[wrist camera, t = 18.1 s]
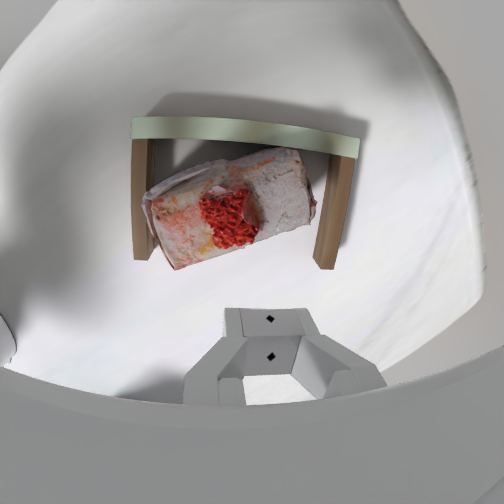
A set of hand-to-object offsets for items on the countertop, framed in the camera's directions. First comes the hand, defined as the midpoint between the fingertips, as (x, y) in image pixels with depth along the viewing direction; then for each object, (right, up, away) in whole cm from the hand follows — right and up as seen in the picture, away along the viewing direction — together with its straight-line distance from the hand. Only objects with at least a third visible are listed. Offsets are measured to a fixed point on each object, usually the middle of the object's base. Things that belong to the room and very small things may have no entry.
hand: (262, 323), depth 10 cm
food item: (-3, +9, +18) cm, 20 cm away
